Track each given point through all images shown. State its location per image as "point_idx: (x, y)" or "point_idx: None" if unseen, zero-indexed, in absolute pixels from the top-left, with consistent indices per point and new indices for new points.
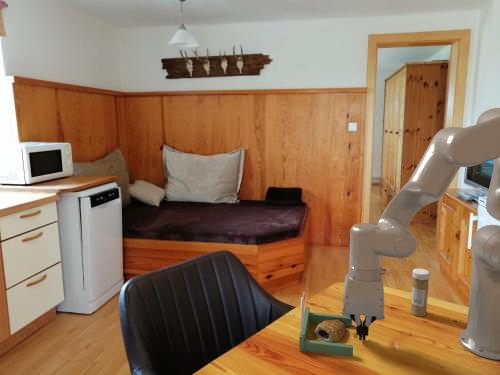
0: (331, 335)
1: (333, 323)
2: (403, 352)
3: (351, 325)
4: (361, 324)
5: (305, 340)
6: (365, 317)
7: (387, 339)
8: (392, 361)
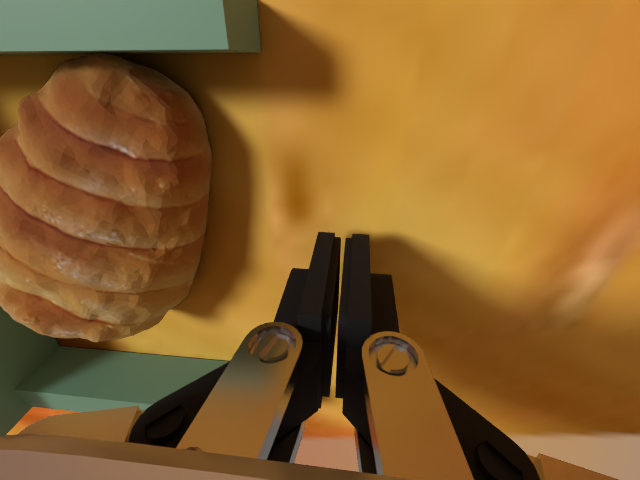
0: (130, 334)
1: (72, 251)
2: (595, 333)
3: (252, 51)
4: (319, 392)
5: (23, 395)
6: (368, 401)
7: (554, 208)
8: (483, 395)
